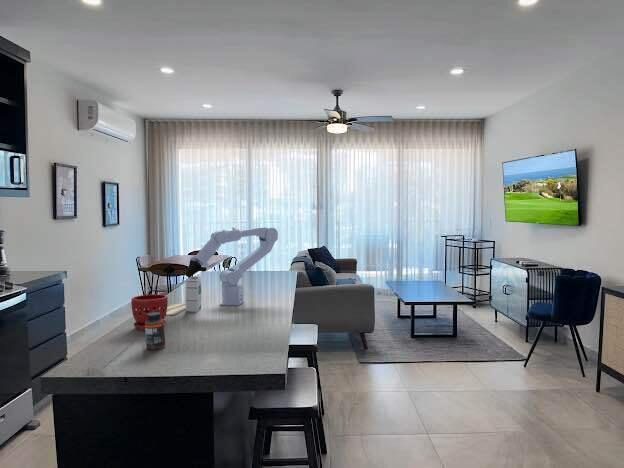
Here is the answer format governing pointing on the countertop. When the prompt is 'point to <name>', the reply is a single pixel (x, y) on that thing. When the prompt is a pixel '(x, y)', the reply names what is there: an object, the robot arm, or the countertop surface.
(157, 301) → the plant pot
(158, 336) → the supplement bottle
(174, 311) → the wooden board
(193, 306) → the syrup box
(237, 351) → the countertop surface
